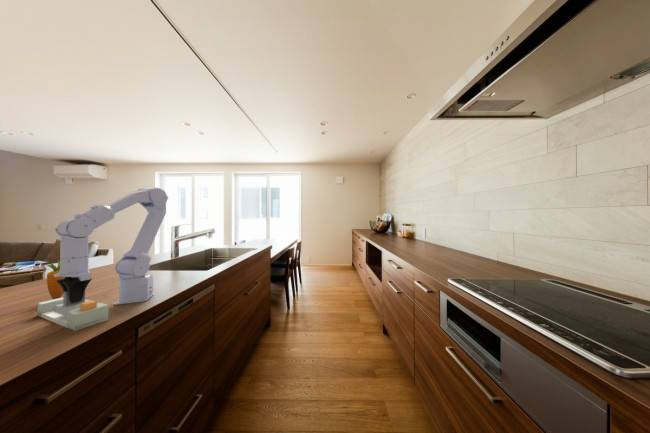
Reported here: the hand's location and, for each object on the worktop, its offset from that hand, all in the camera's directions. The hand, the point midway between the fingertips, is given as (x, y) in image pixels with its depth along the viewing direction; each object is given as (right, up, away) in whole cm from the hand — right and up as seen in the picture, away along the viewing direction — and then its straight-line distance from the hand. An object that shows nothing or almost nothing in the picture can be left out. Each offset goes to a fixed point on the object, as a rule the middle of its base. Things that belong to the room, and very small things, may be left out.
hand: (74, 301), depth 66 cm
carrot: (-23, -6, +14) cm, 28 cm away
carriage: (0, -3, 0) cm, 3 cm away
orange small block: (+8, -3, -3) cm, 9 cm away
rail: (-1, -5, +1) cm, 5 cm away
